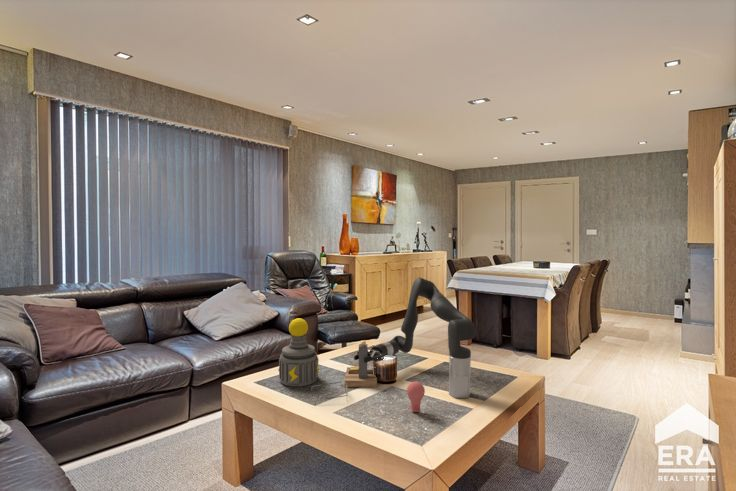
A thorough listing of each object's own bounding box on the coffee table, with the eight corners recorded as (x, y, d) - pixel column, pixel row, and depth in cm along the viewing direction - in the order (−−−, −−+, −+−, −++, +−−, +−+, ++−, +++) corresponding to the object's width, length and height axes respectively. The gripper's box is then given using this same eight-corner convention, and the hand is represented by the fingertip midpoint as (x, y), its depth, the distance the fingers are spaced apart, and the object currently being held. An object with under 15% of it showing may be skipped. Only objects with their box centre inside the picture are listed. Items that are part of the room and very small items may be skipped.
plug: (367, 378, 200) (367, 342, 200) (358, 378, 201) (358, 342, 200) (367, 375, 204) (367, 340, 204) (359, 375, 205) (359, 340, 204)
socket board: (376, 387, 198) (376, 379, 197) (344, 386, 198) (344, 379, 198) (376, 373, 215) (376, 366, 215) (347, 373, 216) (347, 366, 216)
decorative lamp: (322, 373, 215) (321, 314, 213) (313, 388, 196) (313, 323, 194) (285, 372, 217) (284, 313, 215) (273, 386, 198) (272, 322, 196)
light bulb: (412, 406, 177) (413, 377, 177) (427, 411, 173) (428, 381, 172) (403, 412, 172) (403, 382, 171) (418, 417, 167) (418, 386, 167)
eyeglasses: (350, 402, 182) (350, 390, 182) (314, 405, 179) (314, 394, 178) (343, 388, 197) (343, 377, 197) (311, 391, 194) (311, 380, 194)
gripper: (371, 341, 217) (348, 348, 205) (394, 346, 208) (371, 354, 195) (371, 355, 218) (348, 363, 205) (393, 361, 208) (371, 370, 196)
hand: (359, 359), depth 200 cm, fingers closed on plug, 5 cm apart
